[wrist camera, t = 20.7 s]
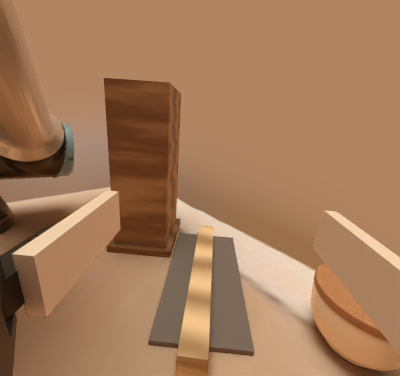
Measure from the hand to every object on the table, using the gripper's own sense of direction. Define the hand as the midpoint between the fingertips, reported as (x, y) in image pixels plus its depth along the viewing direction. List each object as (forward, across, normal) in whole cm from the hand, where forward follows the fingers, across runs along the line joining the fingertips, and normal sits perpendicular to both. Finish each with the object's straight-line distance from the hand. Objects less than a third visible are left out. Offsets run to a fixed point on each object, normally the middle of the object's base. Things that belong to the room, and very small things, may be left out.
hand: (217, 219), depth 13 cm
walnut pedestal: (+27, -12, -19) cm, 36 cm away
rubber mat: (+16, 0, -19) cm, 25 cm away
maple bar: (+14, 0, -18) cm, 23 cm away
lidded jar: (+7, +19, -19) cm, 28 cm away
